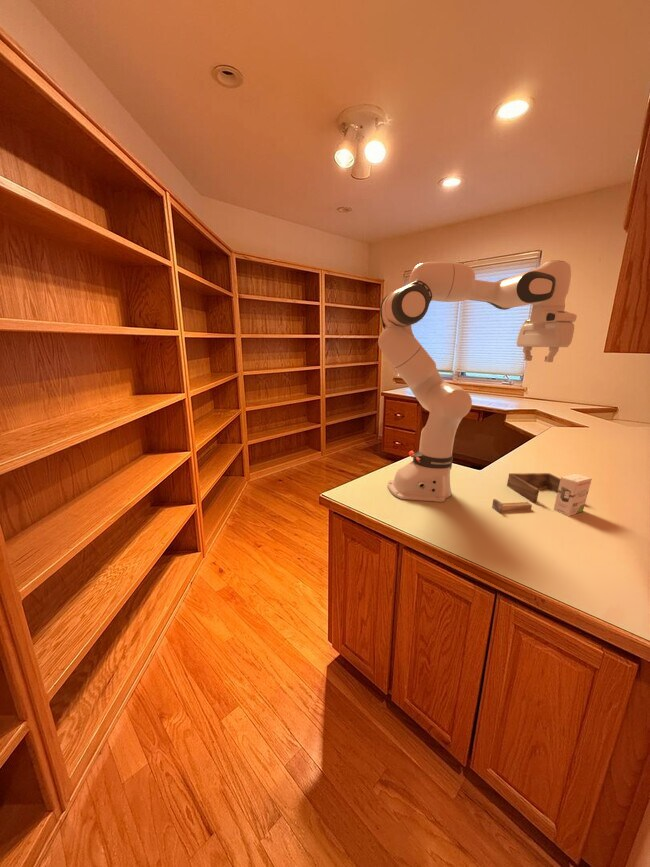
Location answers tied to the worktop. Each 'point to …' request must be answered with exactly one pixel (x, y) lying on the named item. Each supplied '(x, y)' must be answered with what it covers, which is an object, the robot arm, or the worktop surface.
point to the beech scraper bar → (510, 506)
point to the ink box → (572, 494)
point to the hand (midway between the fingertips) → (537, 361)
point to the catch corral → (532, 483)
